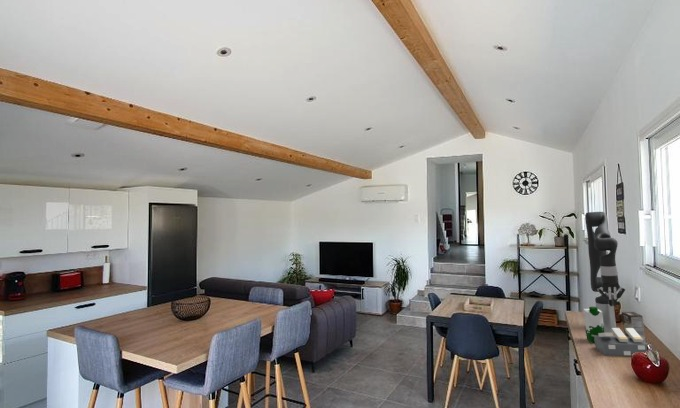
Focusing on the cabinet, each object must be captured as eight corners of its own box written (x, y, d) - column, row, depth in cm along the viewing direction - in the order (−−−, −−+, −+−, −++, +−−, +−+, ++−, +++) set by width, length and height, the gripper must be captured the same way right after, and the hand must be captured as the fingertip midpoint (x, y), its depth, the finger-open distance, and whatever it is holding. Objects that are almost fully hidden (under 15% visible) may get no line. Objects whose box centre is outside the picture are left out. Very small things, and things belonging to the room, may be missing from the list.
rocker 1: (598, 336, 203) (598, 332, 204) (606, 336, 202) (605, 333, 203) (605, 336, 194) (604, 332, 195) (613, 336, 193) (612, 332, 194)
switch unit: (595, 347, 205) (593, 333, 206) (637, 347, 200) (635, 334, 201) (605, 355, 193) (603, 341, 193) (650, 356, 187) (648, 341, 188)
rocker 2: (611, 330, 202) (611, 327, 202) (619, 330, 201) (619, 327, 201) (620, 342, 193) (620, 338, 193) (628, 342, 192) (628, 338, 192)
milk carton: (589, 343, 212) (585, 308, 213) (584, 338, 220) (581, 304, 221) (607, 344, 209) (603, 308, 210) (602, 339, 217) (598, 304, 218)
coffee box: (624, 340, 214) (620, 311, 215) (636, 339, 212) (633, 311, 213) (633, 345, 205) (629, 315, 206) (646, 345, 203) (643, 315, 204)
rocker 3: (625, 330, 201) (625, 327, 200) (632, 330, 200) (633, 327, 199) (634, 342, 191) (634, 339, 191) (642, 342, 190) (642, 339, 190)
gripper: (620, 272, 205) (623, 304, 204) (592, 273, 209) (595, 304, 208) (626, 274, 198) (630, 307, 197) (597, 275, 201) (601, 307, 200)
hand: (612, 306), depth 202 cm, fingers closed
